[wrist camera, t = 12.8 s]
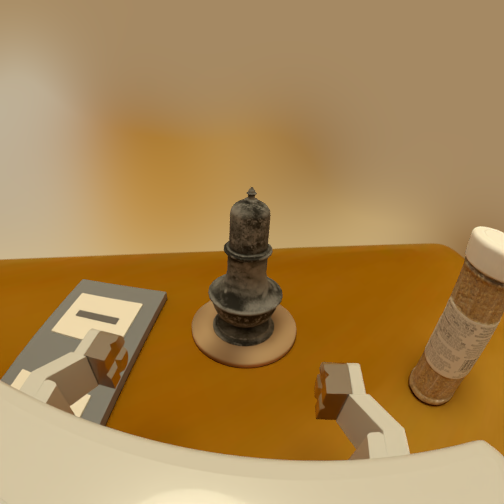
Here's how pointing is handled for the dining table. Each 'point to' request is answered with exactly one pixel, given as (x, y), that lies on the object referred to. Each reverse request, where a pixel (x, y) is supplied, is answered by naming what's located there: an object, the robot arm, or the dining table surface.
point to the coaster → (243, 355)
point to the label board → (76, 327)
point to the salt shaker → (246, 278)
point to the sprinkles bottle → (464, 320)
